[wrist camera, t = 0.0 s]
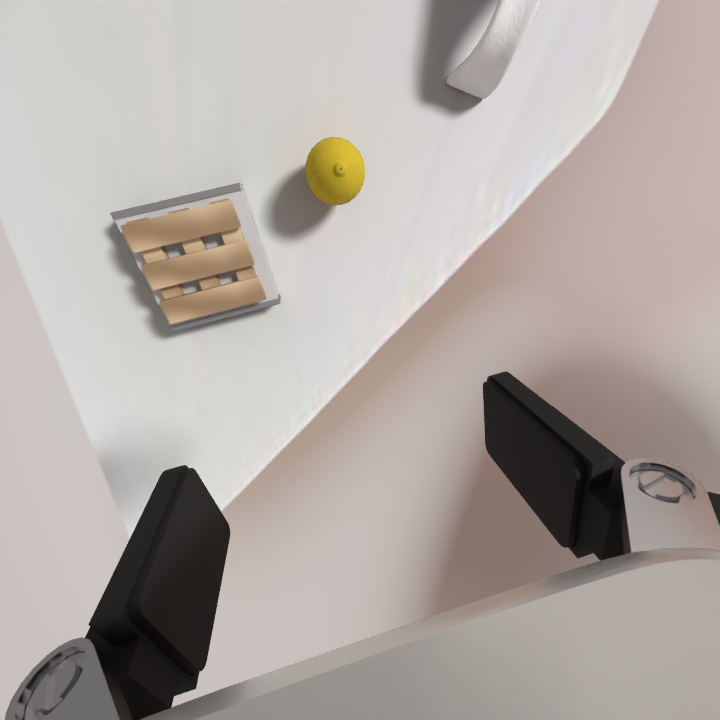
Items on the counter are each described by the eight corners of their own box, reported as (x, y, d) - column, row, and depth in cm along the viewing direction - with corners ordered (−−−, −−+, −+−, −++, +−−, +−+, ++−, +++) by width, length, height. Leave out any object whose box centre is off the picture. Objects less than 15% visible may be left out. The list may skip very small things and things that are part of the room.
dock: (123, 212, 32) (110, 212, 30) (242, 184, 33) (238, 183, 31) (179, 324, 38) (171, 331, 36) (280, 297, 39) (279, 303, 36)
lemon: (326, 216, 36) (335, 219, 29) (292, 168, 33) (293, 159, 26) (366, 182, 35) (385, 177, 28) (334, 131, 33) (346, 111, 26)
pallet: (127, 222, 31) (118, 223, 29) (232, 197, 31) (229, 197, 30) (176, 320, 35) (171, 325, 34) (267, 296, 36) (266, 301, 34)
